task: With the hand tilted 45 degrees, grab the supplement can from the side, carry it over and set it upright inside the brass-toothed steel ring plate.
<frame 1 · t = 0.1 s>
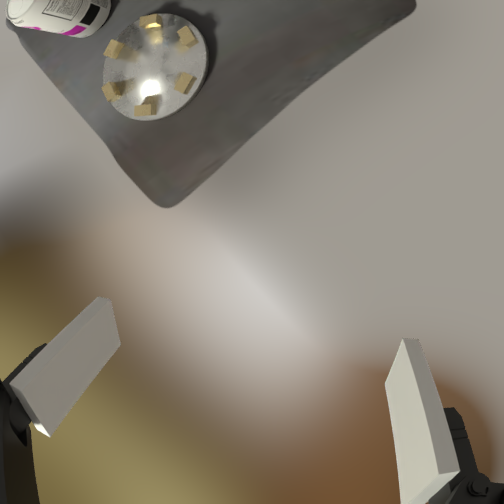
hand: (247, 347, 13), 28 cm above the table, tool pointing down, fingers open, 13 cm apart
supplement can: (92, 15, 32), on the table
ring plate: (155, 66, 35), on the table
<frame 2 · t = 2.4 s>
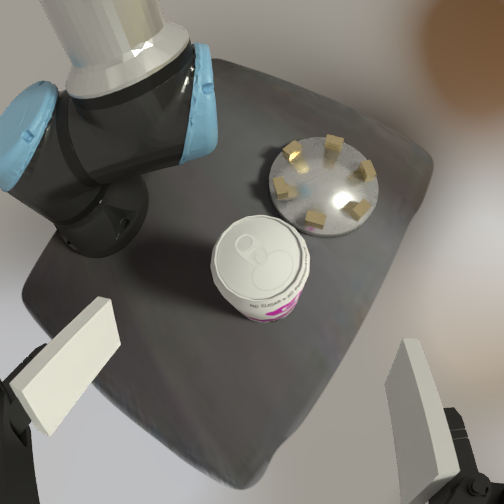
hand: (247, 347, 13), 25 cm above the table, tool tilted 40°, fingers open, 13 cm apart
supplement can: (265, 290, 39), on the table
ring plate: (323, 186, 42), on the table
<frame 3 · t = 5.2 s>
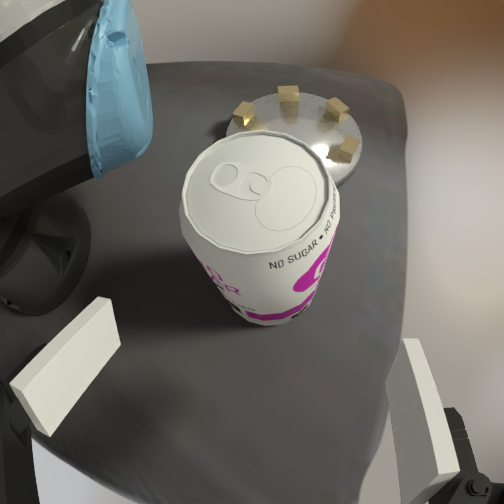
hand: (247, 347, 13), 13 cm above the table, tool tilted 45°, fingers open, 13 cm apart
supplement can: (270, 282, 28), on the table
ring plate: (294, 142, 34), on the table
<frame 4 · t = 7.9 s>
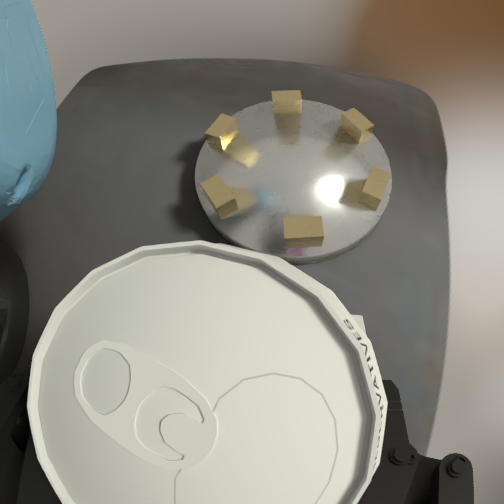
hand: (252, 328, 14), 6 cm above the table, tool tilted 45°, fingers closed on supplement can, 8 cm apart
supplement can: (253, 393, 19), on the table, touching gripper
ring plate: (293, 174, 24), on the table
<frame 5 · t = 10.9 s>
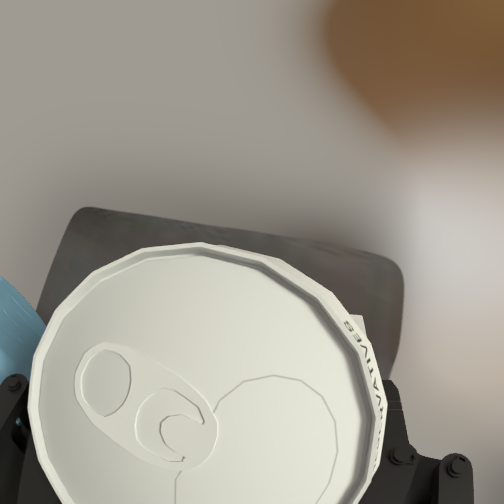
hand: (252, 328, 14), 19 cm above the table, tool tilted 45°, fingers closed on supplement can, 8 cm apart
supplement can: (253, 393, 19), point 13 cm above the table, touching gripper
when the fingers open (9 cm above the table, at t = 13.8 s): supplement can drops 1 cm, resting on ring plate.
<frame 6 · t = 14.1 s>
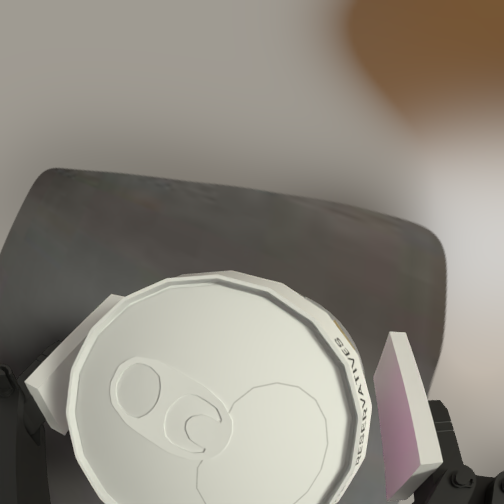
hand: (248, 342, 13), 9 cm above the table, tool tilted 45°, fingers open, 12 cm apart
supplement can: (256, 394, 20), point 1 cm above the table, touching ring plate
ring plate: (257, 391, 21), on the table
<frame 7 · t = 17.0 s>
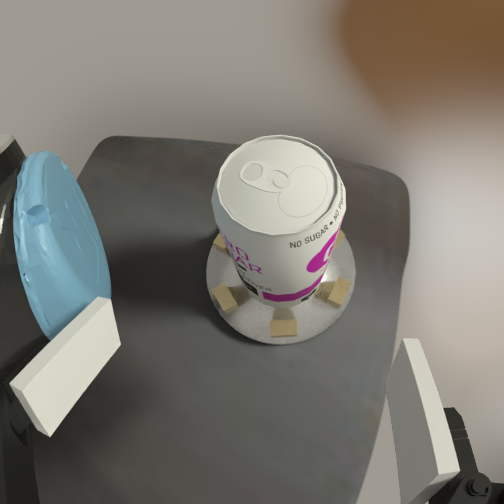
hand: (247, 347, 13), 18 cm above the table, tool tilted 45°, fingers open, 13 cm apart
supplement can: (281, 269, 32), point 1 cm above the table, touching ring plate
ring plate: (280, 272, 33), on the table
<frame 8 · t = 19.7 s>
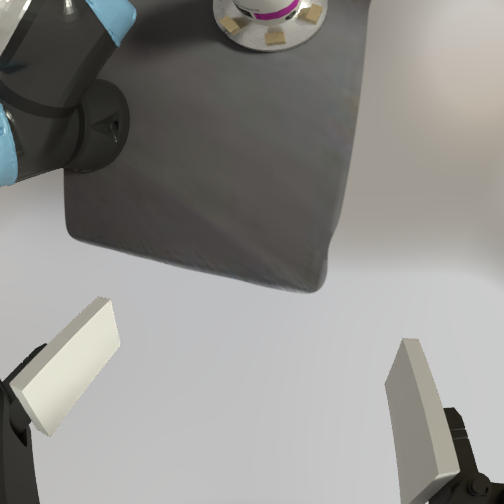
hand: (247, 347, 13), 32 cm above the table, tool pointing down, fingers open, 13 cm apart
supplement can: (270, 2, 31), point 1 cm above the table, touching ring plate
ring plate: (270, 4, 32), on the table
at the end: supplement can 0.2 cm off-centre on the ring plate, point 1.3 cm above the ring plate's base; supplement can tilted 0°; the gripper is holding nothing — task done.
